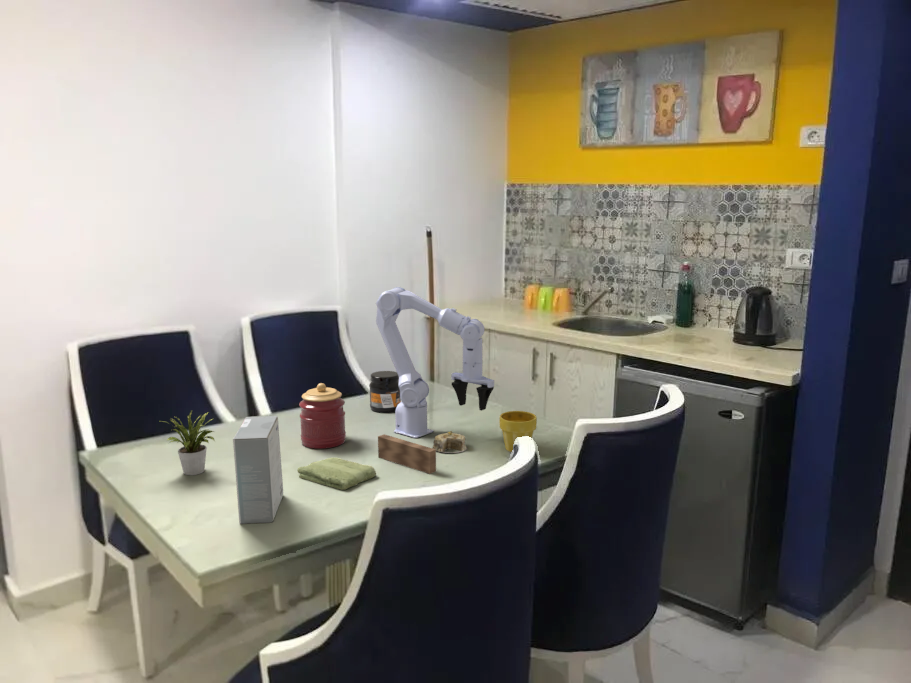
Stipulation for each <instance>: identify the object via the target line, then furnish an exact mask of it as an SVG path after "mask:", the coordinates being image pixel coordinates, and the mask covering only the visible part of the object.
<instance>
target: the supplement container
mask: <svg viewBox="0 0 911 683" xmlns="http://www.w3.org/2000/svg"><path fill="white" fill-rule="evenodd" d="M398 385H399V376H398V374H397V371H393V370H379V371H375V372H372V373H370V382H369V384H368V387H369V407H370V410H371V411H373V412H375V413H393V412H395V411H396V407H397V405H398V404H399V403H400V402H402V401H401V398H400V389H399V386H398Z"/></svg>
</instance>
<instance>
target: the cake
mask: <svg viewBox="0 0 911 683" xmlns="http://www.w3.org/2000/svg"><path fill="white" fill-rule="evenodd" d="M431 448H433V449H436V452H439V453H446V454H447V453H448V454H453V453H454V454H456V453H463V452H465V451H467V450H468V447H467V446H466V436H465V435H463V434H460V433H454V432H453V431H452V430H451V431H448V432H447V433H446V432H445V433H441V434H438V435H435V437H434V441H433V445H432V447H431ZM447 450H454V451H455V452H451V451H447Z"/></svg>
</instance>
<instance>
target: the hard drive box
mask: <svg viewBox="0 0 911 683" xmlns="http://www.w3.org/2000/svg"><path fill="white" fill-rule="evenodd" d="M280 442H281V441H280V427H279V417H278V415H265V416H263V415H262V416H259V415H258V416H246V417H245V418H244V420H243V421H242V424H241V425H240V426H239V429H238V430H237V432H236V433H235V435H234V436H233V438H232V443H233V444H232V445H233V446H232V447H233V457H234V469H235V470H234V471H235V482H236V483H235V484H236V495H237V497H236V498H237V509H238V521H239V522H238V523H239V524H242V525H243V524H262V523H265V524H266V523H273V521H274V519H275V517H276V515H277V511H278V509H279V507H280V504H281V502H282V498H283V496H284V482H283V480H284V479H283V469H282V456H281V454H282V452H281V443H280Z"/></svg>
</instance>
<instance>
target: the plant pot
mask: <svg viewBox="0 0 911 683" xmlns="http://www.w3.org/2000/svg"><path fill="white" fill-rule="evenodd" d="M537 420H538V417H537V414H534V413H532V412H528V411H526V410H525V411H523V410H510V411H505V412H503V413H501V414H500V415H499V422H498V423H499V429H500V430H501V432H502V437H503V442H504V445H505V446H504V447H505V450H506V451H507V452H509V453H513V452H512V450H513V444H514V441H515V439H516V438H517V437H522V436H529V437H531V438H533V436H534V432H535V430H536V429H537V422H538V421H537Z"/></svg>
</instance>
